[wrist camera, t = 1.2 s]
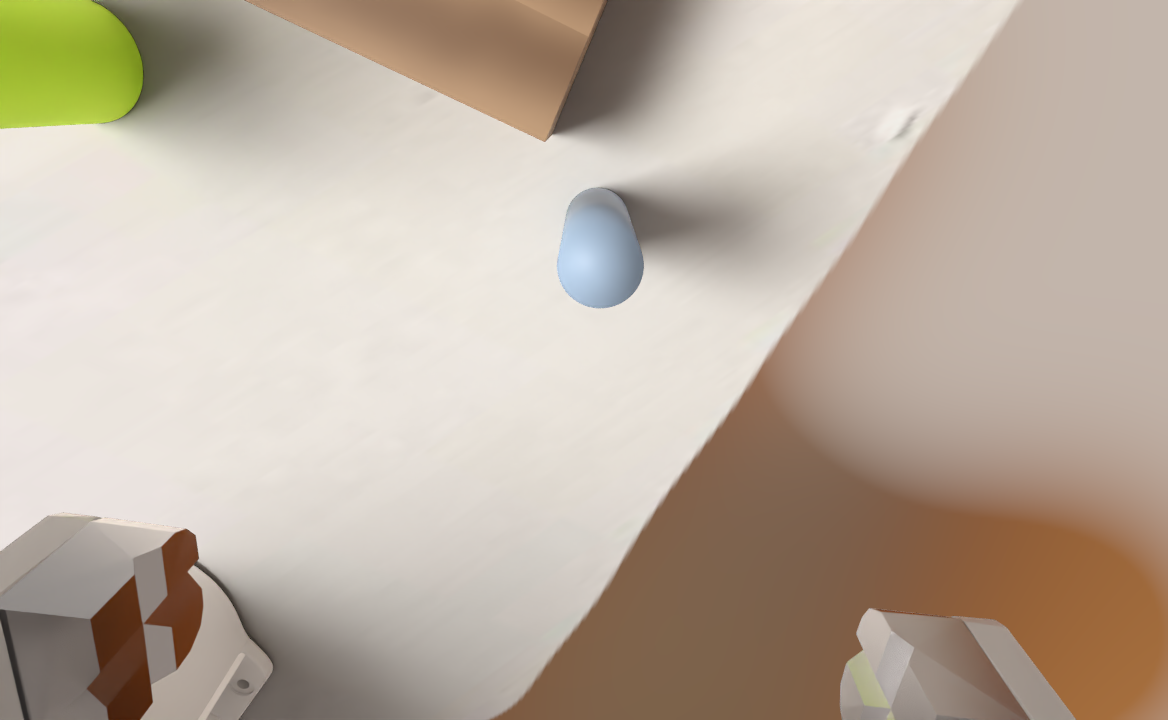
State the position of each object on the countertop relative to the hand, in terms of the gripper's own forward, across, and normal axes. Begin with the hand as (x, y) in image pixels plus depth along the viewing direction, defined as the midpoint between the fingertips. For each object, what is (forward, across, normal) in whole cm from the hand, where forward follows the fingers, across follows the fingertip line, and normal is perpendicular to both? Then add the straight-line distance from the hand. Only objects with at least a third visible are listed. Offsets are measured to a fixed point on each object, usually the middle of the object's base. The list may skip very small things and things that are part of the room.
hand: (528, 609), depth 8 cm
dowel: (+31, -1, +1) cm, 31 cm away
